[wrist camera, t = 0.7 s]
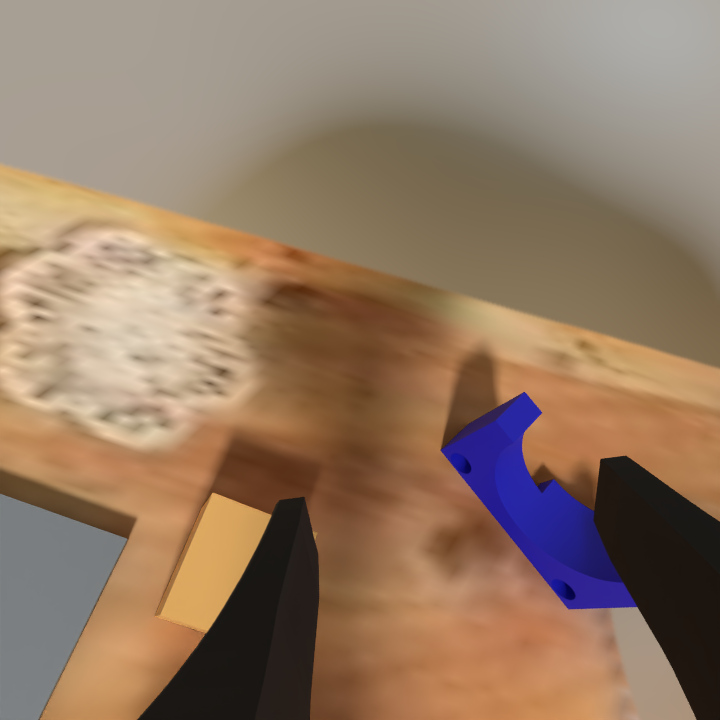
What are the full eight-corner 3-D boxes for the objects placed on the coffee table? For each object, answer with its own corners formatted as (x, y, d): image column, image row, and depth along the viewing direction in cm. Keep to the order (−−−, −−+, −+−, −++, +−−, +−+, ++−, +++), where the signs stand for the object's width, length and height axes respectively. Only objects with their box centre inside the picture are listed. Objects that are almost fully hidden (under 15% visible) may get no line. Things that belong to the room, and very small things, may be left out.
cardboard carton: (258, 650, 25) (279, 654, 21) (154, 616, 24) (160, 615, 20) (293, 543, 27) (317, 532, 24) (200, 509, 26) (212, 492, 23)
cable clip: (599, 558, 35) (680, 547, 30) (566, 609, 32) (648, 606, 27) (479, 412, 36) (538, 378, 31) (438, 451, 33) (495, 420, 28)
